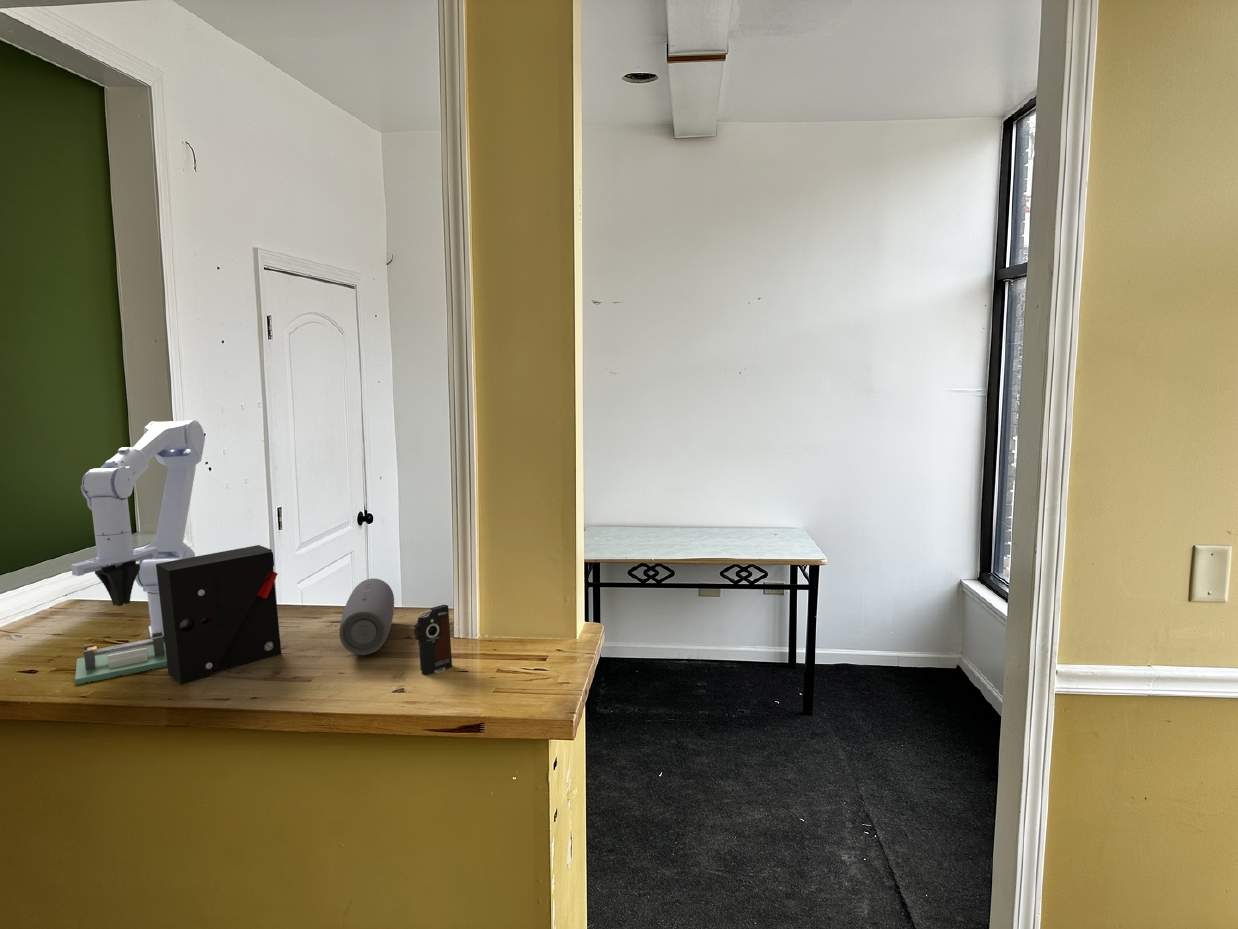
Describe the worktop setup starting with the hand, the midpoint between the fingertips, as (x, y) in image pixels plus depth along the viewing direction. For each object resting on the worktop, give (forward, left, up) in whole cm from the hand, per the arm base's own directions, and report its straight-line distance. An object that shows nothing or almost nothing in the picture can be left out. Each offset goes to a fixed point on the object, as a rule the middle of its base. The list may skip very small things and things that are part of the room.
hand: (121, 604), depth 150 cm
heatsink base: (0, +4, -10) cm, 11 cm away
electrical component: (-15, +15, -11) cm, 24 cm away
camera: (-45, +42, -11) cm, 62 cm away
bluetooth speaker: (-40, +19, -11) cm, 46 cm away
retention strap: (0, +4, -8) cm, 9 cm away
